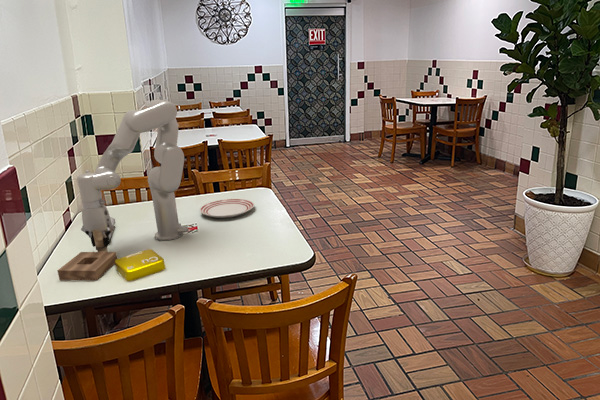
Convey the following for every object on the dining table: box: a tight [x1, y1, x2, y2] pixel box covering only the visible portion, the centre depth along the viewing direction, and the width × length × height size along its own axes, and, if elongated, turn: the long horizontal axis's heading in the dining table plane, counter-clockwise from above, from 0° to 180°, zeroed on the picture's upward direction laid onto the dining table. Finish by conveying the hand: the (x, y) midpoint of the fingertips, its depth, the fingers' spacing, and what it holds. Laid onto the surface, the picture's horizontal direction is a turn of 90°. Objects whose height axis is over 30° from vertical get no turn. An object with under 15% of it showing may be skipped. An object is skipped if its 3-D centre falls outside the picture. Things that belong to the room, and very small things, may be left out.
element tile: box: [114, 248, 166, 282], centre depth 179 cm, size 15×15×5 cm
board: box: [57, 251, 118, 281], centre depth 181 cm, size 15×16×4 cm
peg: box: [92, 230, 109, 252], centre depth 193 cm, size 4×4×12 cm
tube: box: [107, 216, 116, 241], centre depth 214 cm, size 5×5×25 cm
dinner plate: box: [199, 198, 255, 219], centre depth 236 cm, size 27×27×3 cm
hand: (101, 244), depth 193 cm, fingers closed on peg, 4 cm apart
